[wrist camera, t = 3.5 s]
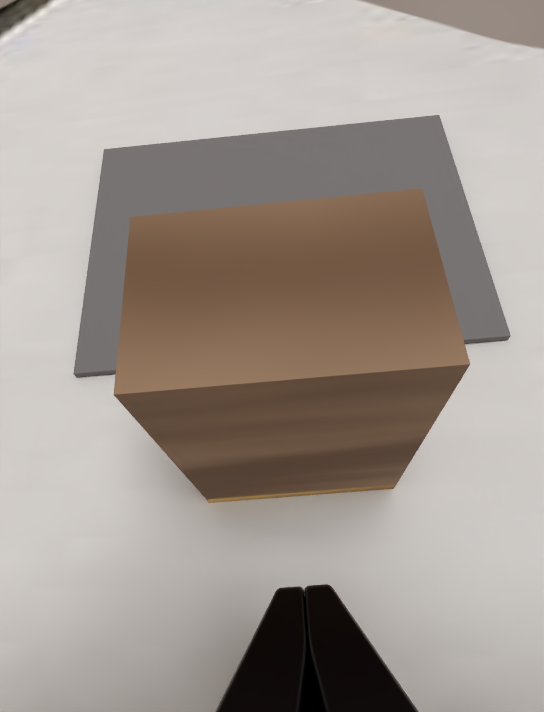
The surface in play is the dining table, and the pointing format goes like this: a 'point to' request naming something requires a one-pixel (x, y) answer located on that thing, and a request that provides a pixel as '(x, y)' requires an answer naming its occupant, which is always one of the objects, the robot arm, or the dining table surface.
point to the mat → (282, 184)
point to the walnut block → (289, 342)
